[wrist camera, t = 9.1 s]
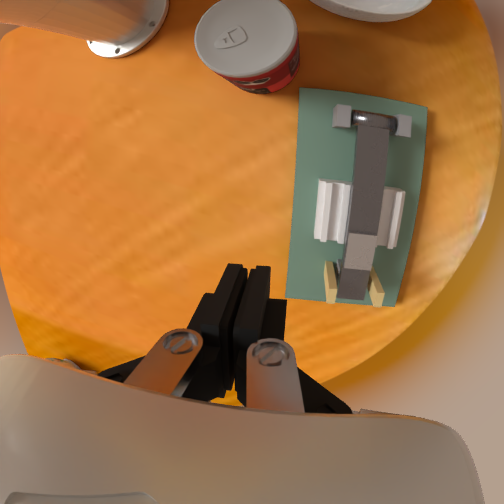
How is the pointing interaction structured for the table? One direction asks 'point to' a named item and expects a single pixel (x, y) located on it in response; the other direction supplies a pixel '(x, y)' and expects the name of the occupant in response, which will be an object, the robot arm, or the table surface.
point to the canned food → (250, 43)
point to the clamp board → (340, 165)
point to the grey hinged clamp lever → (364, 201)
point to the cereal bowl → (373, 8)
